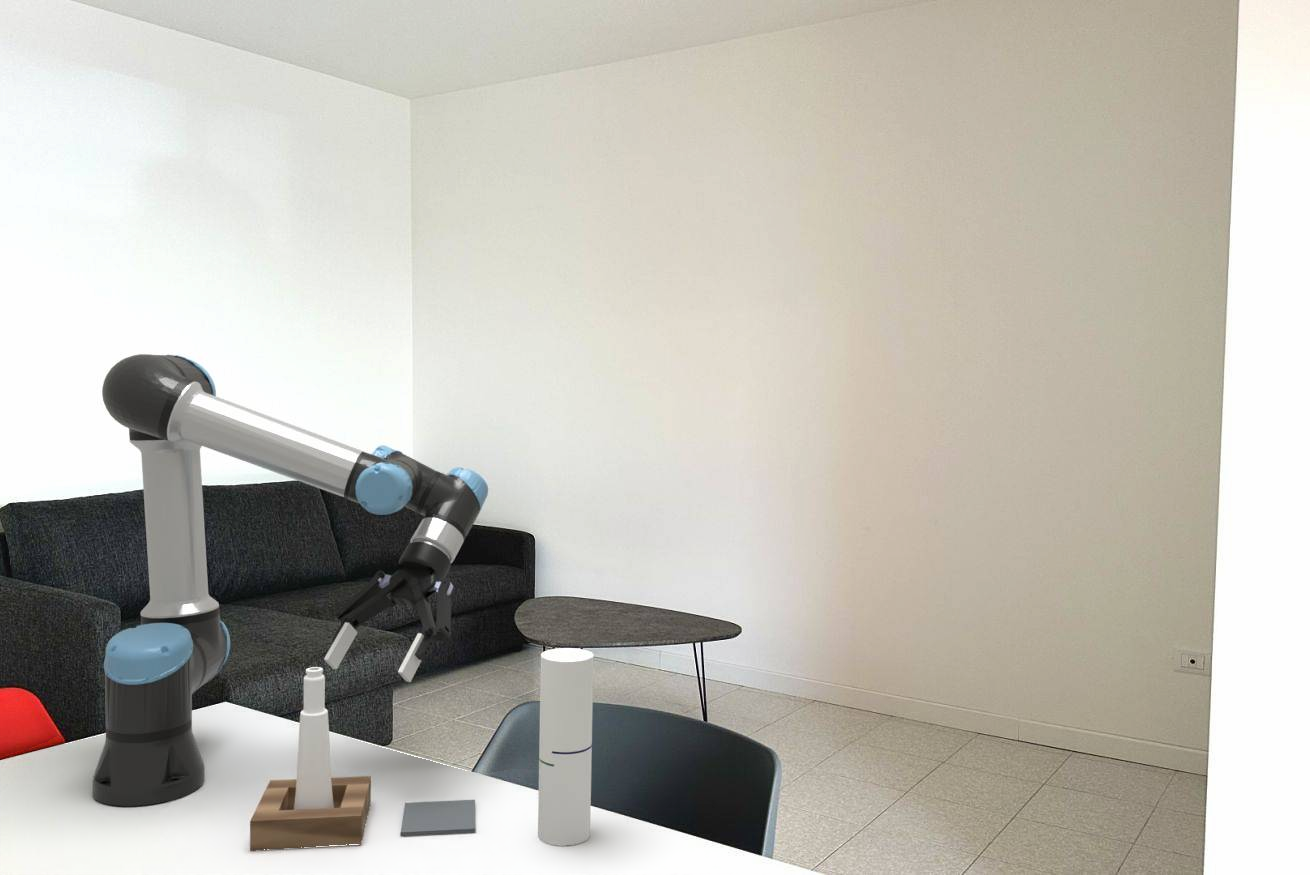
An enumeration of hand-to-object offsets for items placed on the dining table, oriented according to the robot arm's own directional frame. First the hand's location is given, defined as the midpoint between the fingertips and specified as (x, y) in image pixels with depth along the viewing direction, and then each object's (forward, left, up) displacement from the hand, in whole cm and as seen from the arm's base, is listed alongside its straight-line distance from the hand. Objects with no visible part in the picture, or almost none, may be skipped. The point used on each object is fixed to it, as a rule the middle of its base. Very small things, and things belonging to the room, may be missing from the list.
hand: (366, 670), depth 154 cm
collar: (+8, -6, -19) cm, 22 cm away
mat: (+8, +11, -19) cm, 24 cm away
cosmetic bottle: (+8, -6, -19) cm, 22 cm away
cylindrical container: (+15, +28, -19) cm, 37 cm away
